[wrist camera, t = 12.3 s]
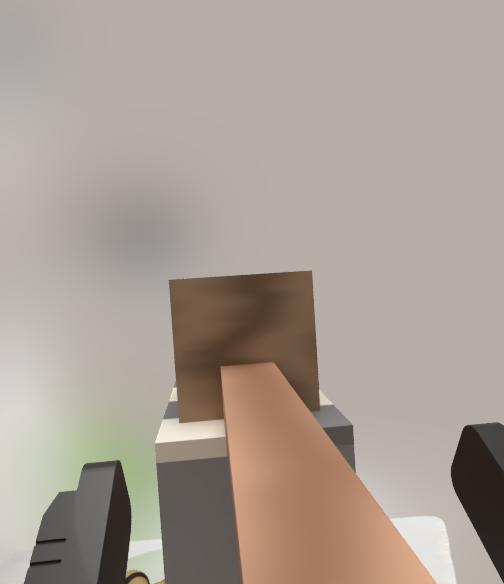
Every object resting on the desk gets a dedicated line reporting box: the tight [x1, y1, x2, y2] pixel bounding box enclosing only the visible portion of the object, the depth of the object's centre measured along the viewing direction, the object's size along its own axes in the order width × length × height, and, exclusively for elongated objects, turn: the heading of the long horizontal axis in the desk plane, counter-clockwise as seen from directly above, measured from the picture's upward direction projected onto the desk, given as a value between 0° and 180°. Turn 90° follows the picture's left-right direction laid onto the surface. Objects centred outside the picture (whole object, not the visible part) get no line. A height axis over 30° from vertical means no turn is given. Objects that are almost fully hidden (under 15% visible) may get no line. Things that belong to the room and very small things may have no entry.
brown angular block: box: [169, 271, 437, 584], centre depth 21 cm, size 8×28×8 cm, turn 5°
